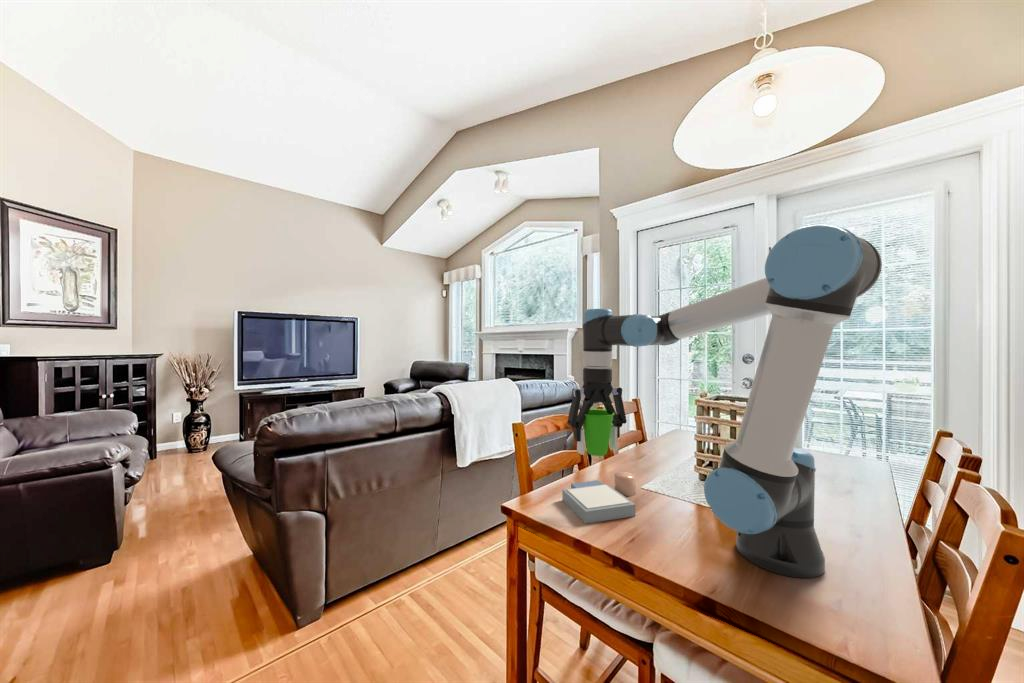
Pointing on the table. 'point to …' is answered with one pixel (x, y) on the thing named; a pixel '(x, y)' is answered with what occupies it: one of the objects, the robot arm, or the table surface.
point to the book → (586, 484)
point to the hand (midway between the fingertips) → (597, 451)
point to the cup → (597, 431)
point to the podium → (598, 503)
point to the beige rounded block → (625, 483)
